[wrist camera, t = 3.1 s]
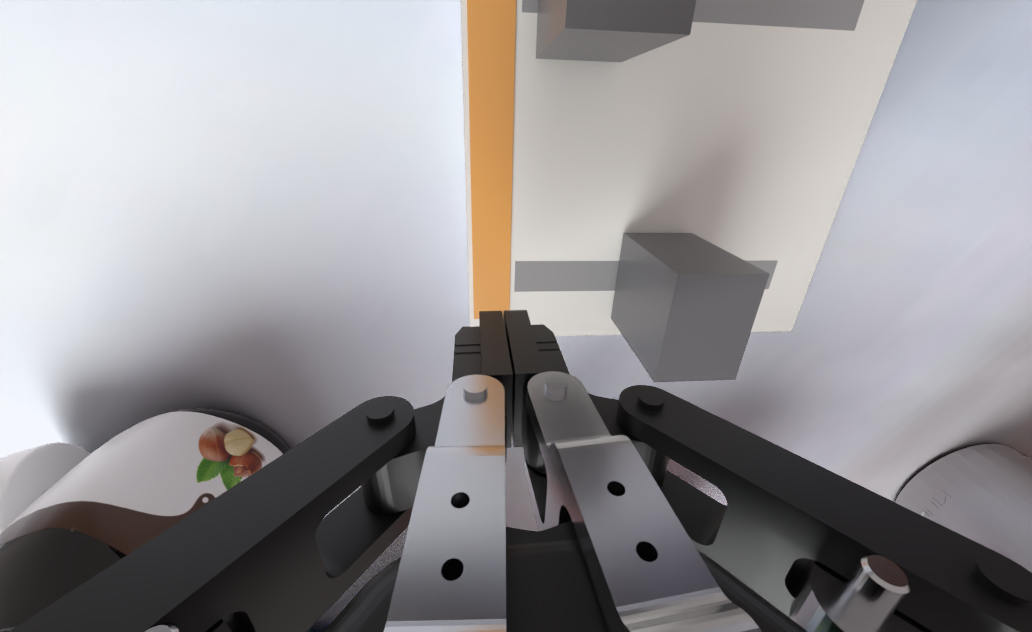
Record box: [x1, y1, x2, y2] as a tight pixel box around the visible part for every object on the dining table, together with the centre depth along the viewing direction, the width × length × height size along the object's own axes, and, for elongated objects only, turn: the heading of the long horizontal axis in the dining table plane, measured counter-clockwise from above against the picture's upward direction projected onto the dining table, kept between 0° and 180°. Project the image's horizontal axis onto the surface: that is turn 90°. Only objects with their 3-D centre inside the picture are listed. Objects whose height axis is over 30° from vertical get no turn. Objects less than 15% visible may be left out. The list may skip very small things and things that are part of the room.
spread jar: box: [0, 409, 290, 632], centre depth 17 cm, size 12×11×12 cm
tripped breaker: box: [611, 233, 770, 382], centre depth 15 cm, size 3×4×5 cm
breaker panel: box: [461, 0, 917, 336], centre depth 16 cm, size 16×16×2 cm
